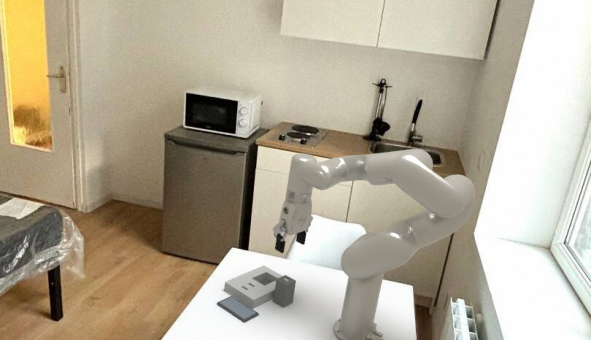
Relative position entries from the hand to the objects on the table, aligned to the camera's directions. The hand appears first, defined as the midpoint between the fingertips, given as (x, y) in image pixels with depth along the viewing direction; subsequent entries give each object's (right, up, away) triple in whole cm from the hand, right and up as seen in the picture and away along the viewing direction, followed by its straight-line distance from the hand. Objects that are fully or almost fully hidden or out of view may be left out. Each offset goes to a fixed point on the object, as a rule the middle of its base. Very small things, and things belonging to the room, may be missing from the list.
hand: (289, 246), depth 148 cm
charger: (-2, -18, +5) cm, 19 cm away
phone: (-16, -19, -2) cm, 25 cm away
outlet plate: (-10, -16, +10) cm, 21 cm away
